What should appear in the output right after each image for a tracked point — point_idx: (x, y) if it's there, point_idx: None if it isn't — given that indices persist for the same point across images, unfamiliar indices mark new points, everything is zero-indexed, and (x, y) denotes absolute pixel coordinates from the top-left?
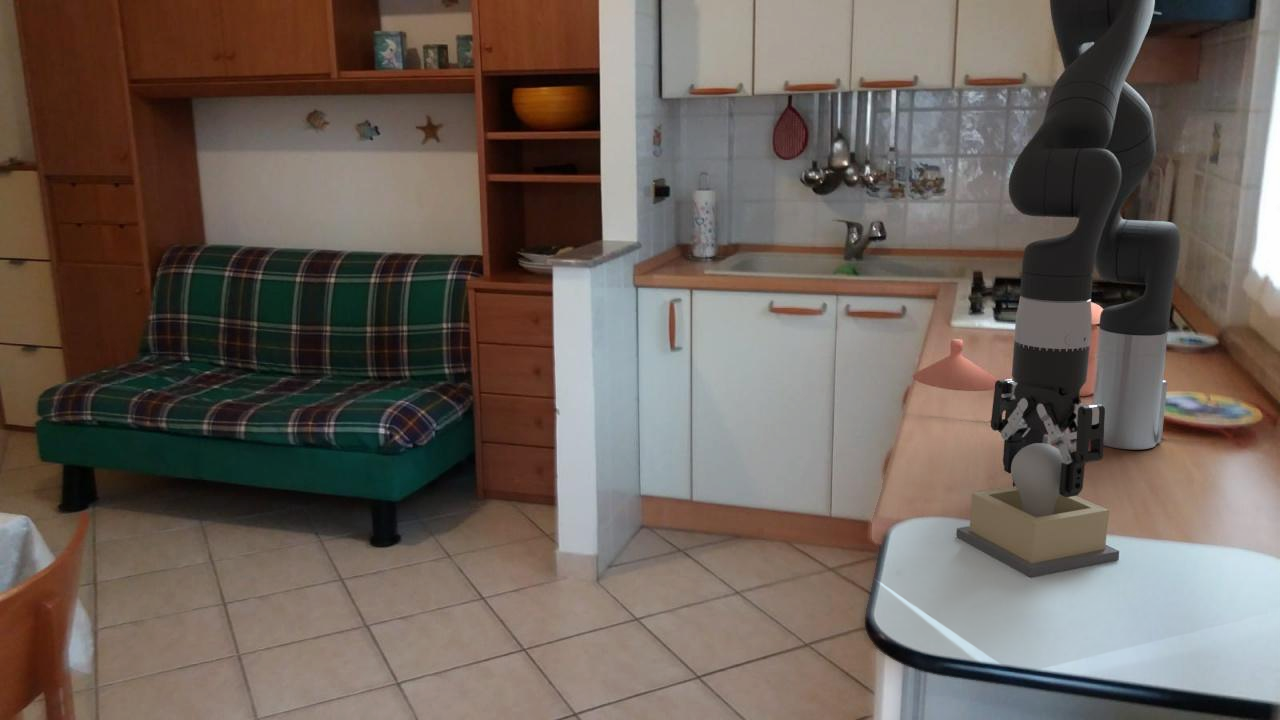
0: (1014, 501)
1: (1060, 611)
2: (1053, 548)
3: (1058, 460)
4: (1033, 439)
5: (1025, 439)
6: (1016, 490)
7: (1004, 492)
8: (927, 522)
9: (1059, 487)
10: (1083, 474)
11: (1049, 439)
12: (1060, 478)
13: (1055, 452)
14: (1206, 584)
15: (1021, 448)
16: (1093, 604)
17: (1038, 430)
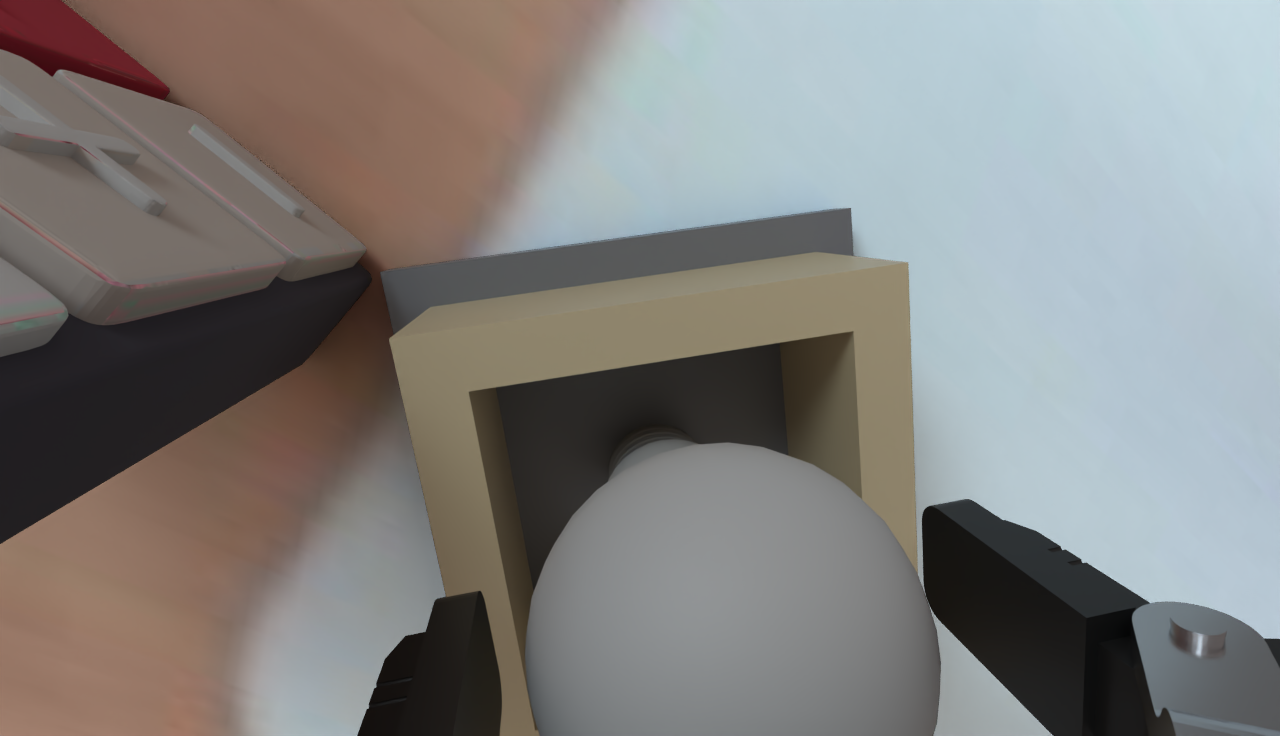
0: (506, 537)
1: None
2: None
3: (939, 688)
4: (101, 422)
5: (63, 478)
6: (501, 560)
7: (515, 633)
8: (305, 711)
9: (955, 635)
10: (1112, 582)
11: (15, 174)
12: (993, 672)
13: (914, 724)
14: (1103, 45)
15: (467, 734)
16: (1062, 514)
17: (53, 424)
